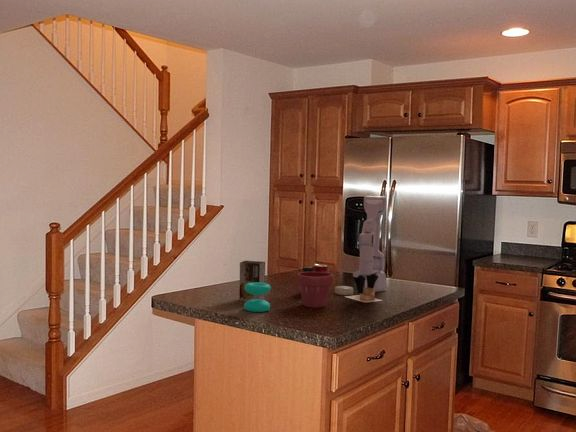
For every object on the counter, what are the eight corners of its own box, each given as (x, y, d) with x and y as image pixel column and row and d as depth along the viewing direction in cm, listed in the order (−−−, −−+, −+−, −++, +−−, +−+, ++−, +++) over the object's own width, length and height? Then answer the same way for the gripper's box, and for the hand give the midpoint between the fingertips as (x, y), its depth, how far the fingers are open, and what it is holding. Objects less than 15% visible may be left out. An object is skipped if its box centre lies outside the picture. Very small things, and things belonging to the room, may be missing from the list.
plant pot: (297, 301, 240) (297, 270, 239) (330, 302, 239) (331, 271, 238) (296, 308, 225) (297, 275, 225) (332, 309, 225) (333, 277, 224)
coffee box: (264, 300, 239) (265, 261, 239) (259, 303, 233) (260, 263, 233) (244, 298, 242) (245, 260, 242) (238, 300, 236) (239, 261, 235)
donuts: (248, 281, 226) (273, 282, 224) (247, 306, 227) (272, 308, 225) (241, 285, 216) (267, 287, 214) (241, 311, 217) (267, 313, 215)
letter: (361, 294, 257) (361, 294, 257) (383, 300, 245) (383, 300, 245) (344, 296, 251) (344, 296, 251) (365, 302, 240) (365, 302, 239)
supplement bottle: (313, 292, 259) (314, 266, 258) (316, 295, 252) (317, 268, 251) (298, 292, 258) (299, 266, 257) (301, 295, 251) (302, 268, 250)
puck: (344, 291, 264) (345, 285, 264) (356, 294, 258) (356, 288, 257) (331, 293, 259) (331, 286, 259) (343, 296, 253) (343, 289, 253)
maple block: (368, 297, 250) (368, 287, 250) (374, 299, 246) (375, 289, 246) (359, 298, 248) (360, 288, 247) (366, 300, 244) (366, 289, 243)
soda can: (326, 293, 258) (327, 266, 257) (310, 292, 260) (311, 265, 259) (328, 290, 265) (329, 264, 265) (313, 289, 267) (313, 263, 266)
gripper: (369, 258, 254) (368, 289, 255) (348, 261, 244) (346, 292, 245) (382, 260, 249) (381, 291, 250) (361, 263, 239) (359, 295, 240)
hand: (365, 292), depth 247 cm, fingers open, 6 cm apart
